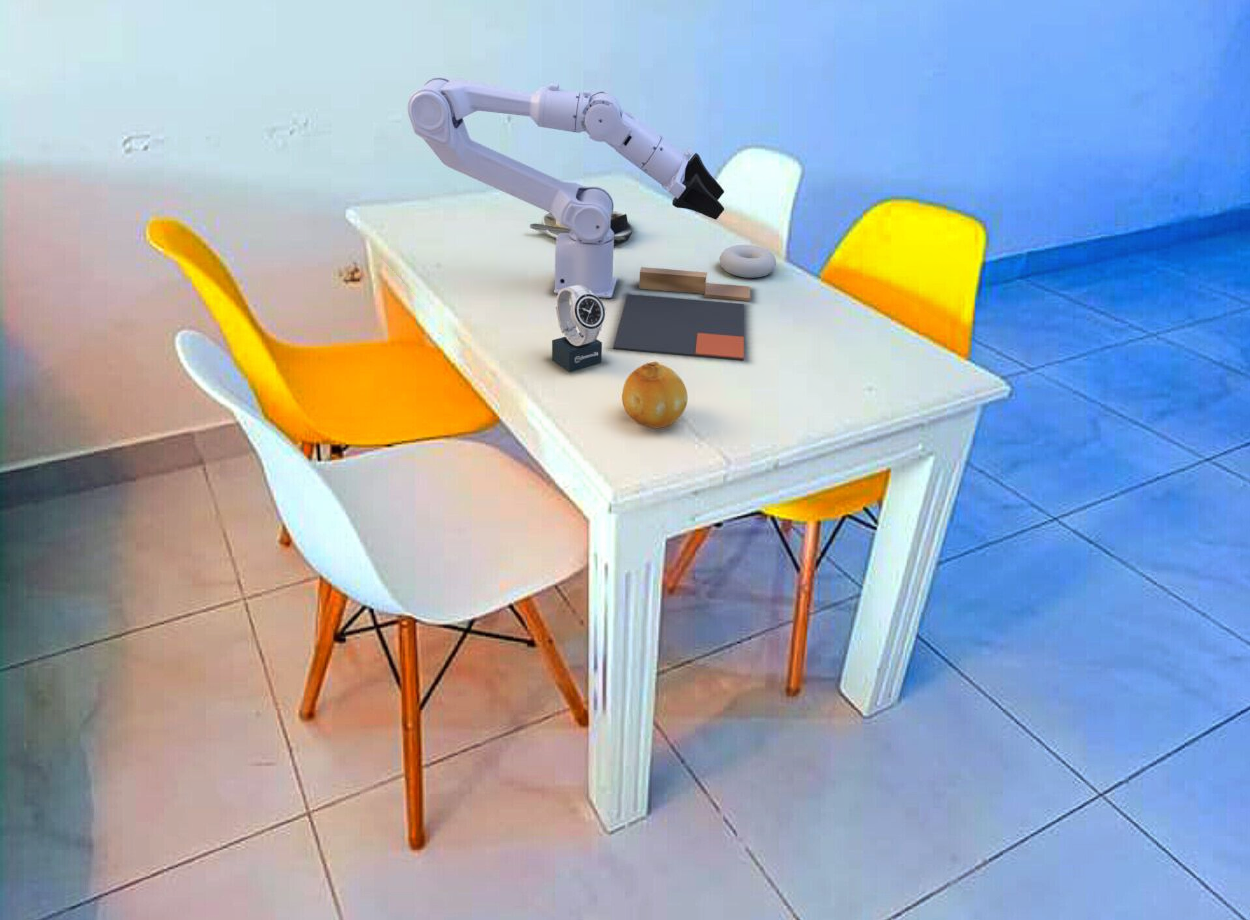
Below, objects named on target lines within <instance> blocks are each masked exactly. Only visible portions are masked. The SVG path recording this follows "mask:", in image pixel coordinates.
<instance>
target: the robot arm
mask: <svg viewBox="0 0 1250 920" xmlns="http://www.w3.org/2000/svg"><path fill="white" fill-rule="evenodd" d="M475 112H485V113H486V112H488V113H496V114H505V115H512V116H513V115H514V116H522V117H530V118H531V120H532V121H533V122H534V123H535V125H537V127H540V128H546V129H552V130H556V131H557V130H558V131H563V132H571V133H575V134H580V133H583V132H585V133H587V135H588V138H589V139H590V140H592V141H595V142H600V143H603V142H604V143H606V144H607V145H608V146H610V147H611V148H612V149H614V150H615V152H617V153H618V154H619V155H620V156H621V157H623V158H624V159H626V160H627V161H628V162H630V163H631V164H632V165H634V166H636V167H637V168H638V169H639V170H641V171H642V172H643V173H645V174H647V176H649V177H650V178H651V179H653V180H654V181H656V182H657V183H658V184H659V185H661V187H662V189H664V190H666V191H667V193H669V194H670V195H672V196H673V197H674V198H673V200H672V202H671V205H672V206H674V208H677V209H685V210H690V211H693V212H696V213H698V214H701V215H703V216H705V217H708V218H710V219H713V220H718V218H719V217H721V215H722V213H723V212H724V211H725V207H724V206H723V205H722V203H721V202H720V201H719V199H720V198H721V197H722V196H723V194H725V190H724V189H723V188H722V186H721V185H720V183H719V182H718V181H717V180H716V179H715V177H713V175H712V174H711V173H710V172H709V170H708V169H707V168H706V166H705V164H704V162H703V160H702V158H701V156H700V155H699V154H698V153H697V152H695V153H694V154H693V152H694V150H693V149H691V148H688V149H687V150H686V151H685V152H683V151H681V150H680V149H679V148H677V147H676V146H674V145H673V144H672V143H671V142H669V141H668V140H667V139H666V138H664V137H663V136H661V135H660V134H659V133H658V132H656V131H655V130H653V129H652V128H651V127H649V126H648V125H647V124H646V123H644V122H642V121H641V120H640V119H639V118H637V117H635V116H634V115H632V113H630V112H628V111H627V110H625V109H624V108H623V109H622V106H621V104H620V102H619V100H618V99H617V98H616V96H614V95H612V94H610V93H608V92H606V91H604V90H599V91H596V92H593V93H592V91H591V90H589V89H584V90H583V92H580V91H575V90H568V89H562V88H560V84H559V83H554V82H551V83H550V84H549V86H541V87H540V88H538V89H537V90H536V91H535V92H533V93H531V92H527V91H522V90H517V89H513V88H512V89H511V88H507V87H502V86H497V85H494V84H493V85H492V84H488V83H483V82H479V81H473V80H468V79H463V78H451V79H448V78H446V77H441V76H439V77H438V76H437V77H432V78H430V79H428V80H427V82H425V84H424V85H423V86H422V87H421V88H420V89H417V90H416V91H414V92H413V93H412V94H411V96H410V98H409V99H408V102H407V114H408V117H409V121H410V124H411V127H412V129H413V133H414V134H415V135H417V136H418V137H420V138H421V139H422V140H424V142H425V143H426V144H427V145H428V147H429V148H430V149H431V151H432V152H433V153H434V154H435V155H436V157H437V158H438V160H440V162H441V163H442V164H443V165H445V166H446V167H448V168H450V169H452V170H454V171H456V172H459V173H461V174H463V175H465V176H468V177H469V178H472V179H474V180H476V181H479V182H481V183H483V184H485V185H487V186H490V187H491V188H494V189H497V190H498V191H501V192H503V193H505V194H507V195H510V196H512V197H514V198H516V199H518V200H520V201H523V202H525V203H527V204H530V205H532V206H534V207H536V208H539V209H540V210H543V211H545V212H547V213H551V214H552V215H553V216H554V217H555V219H556V220H557V221H558V222H559V223H560V224H561V225H563V226H565V227H567V228H569V229H570V232H569V233H560V234H558V236H557V239H555V248H554V249H555V250H554V290H553V292H554V294H558V293H559V291H560V290H561V289H563V288H566V287H570V286H575V285H582V286H584V287H586V288H587V289H588V290H591V291H592V293H593V294H594V295H595V296H597V297H598V298H605V299H606V298H607V299H608V298H609V299H610V298H612V297H613V294H614V292H615V288H616V285H617V282H618V278H617V277H614V275H613V274H614V273H613V272H614V249H615V248H614V247H615V244H614V232H613V231H612V230H611V228H610V219H611V215H612V213H613V211H614V208H615V207H614V205H615V204H614V200H613V197H612V195H611V194H610V193H609V191H607V190H605V188H602V187H600V186H586V185H582V184H579V183H577V182H571V181H570V182H569V181H568V182H567V181H562V180H560V179H558V178H555V177H553V176H551V175H549V174H547V173H545V172H543V171H540V170H538V169H536V168H533V167H531V166H529V165H527V164H525V163H522V162H520V161H518V160H517V159H514V158H511V157H510V156H508V155H505V154H503V153H501V152H499V151H497V150H495V149H492V148H490V147H487V146H486V145H484V144H481V143H479V142H477V141H474V140H473V139H471V138H470V135H469V132H468V129H467V126H466V123H465V120H464V118H465V117H467V116H469V115H471V114H473V113H475ZM571 294H572V293H571ZM571 294H570V295H571Z"/></svg>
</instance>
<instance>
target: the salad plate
mask: <svg viewBox="0 0 1250 920" xmlns="http://www.w3.org/2000/svg"><path fill="white" fill-rule="evenodd" d="M629 222H630V221H629V220H628V215H627V213H621V212H619V211H617V210H613V213H612V215H611V219H610V228H611V230H612V231H613V232H614V245H619V244H622V243H625V242H627V241H628V240H629V239H630V237H631V235H632V234H633V227H632V225H631V224H630V223H629ZM529 228H530V229H532V230H535V231H539V232H541V233H543V234H545V235H547V236H548V237H550V238H553V239H555V240H557V236H558V234H560V233H569V232H570V229H569V228H567V227H565V226H563V225H561V224H560V223H559V222H558V221H557V220H556V219H555V217H554V216H553V215H552V214H551V213H550V212H547V213H546V214H545V215H544V216H543V217H542V224H541V223H530V224H529Z"/></svg>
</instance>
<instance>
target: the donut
mask: <svg viewBox="0 0 1250 920" xmlns="http://www.w3.org/2000/svg"><path fill="white" fill-rule="evenodd" d="M719 265H720V267H721V268H722V269H723V271H725V272H727V274H730V275H733V276H735V277H739V278H740V277H741V278H746V279H757V278H761V277H767V276H768V275H770V274H771V273H772V272H773V271H774V270H775V268H776V266H777V259H776V257H775V254H774V253H773V252H771V251H770V250H768V249H766V248H765V247H762V246H757V245H752V244H736V245H732V246H729V247H727V248H725V249H724V250H723V251H722V252H721V254H720V255H719Z"/></svg>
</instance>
